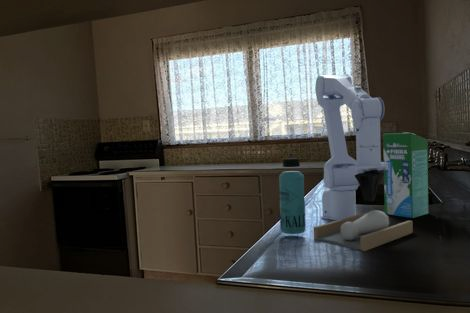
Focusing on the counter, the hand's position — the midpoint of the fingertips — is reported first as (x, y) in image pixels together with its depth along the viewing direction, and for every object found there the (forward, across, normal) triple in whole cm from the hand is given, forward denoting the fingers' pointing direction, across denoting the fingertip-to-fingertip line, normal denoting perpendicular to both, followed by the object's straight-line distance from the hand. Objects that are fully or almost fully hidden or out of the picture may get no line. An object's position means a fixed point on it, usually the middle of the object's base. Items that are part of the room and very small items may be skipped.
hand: (369, 200), depth 95 cm
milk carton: (+9, +28, +5) cm, 29 cm away
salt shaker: (+5, +2, -3) cm, 6 cm away
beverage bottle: (+9, -15, +12) cm, 21 cm away
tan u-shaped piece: (+8, -3, 0) cm, 9 cm away
